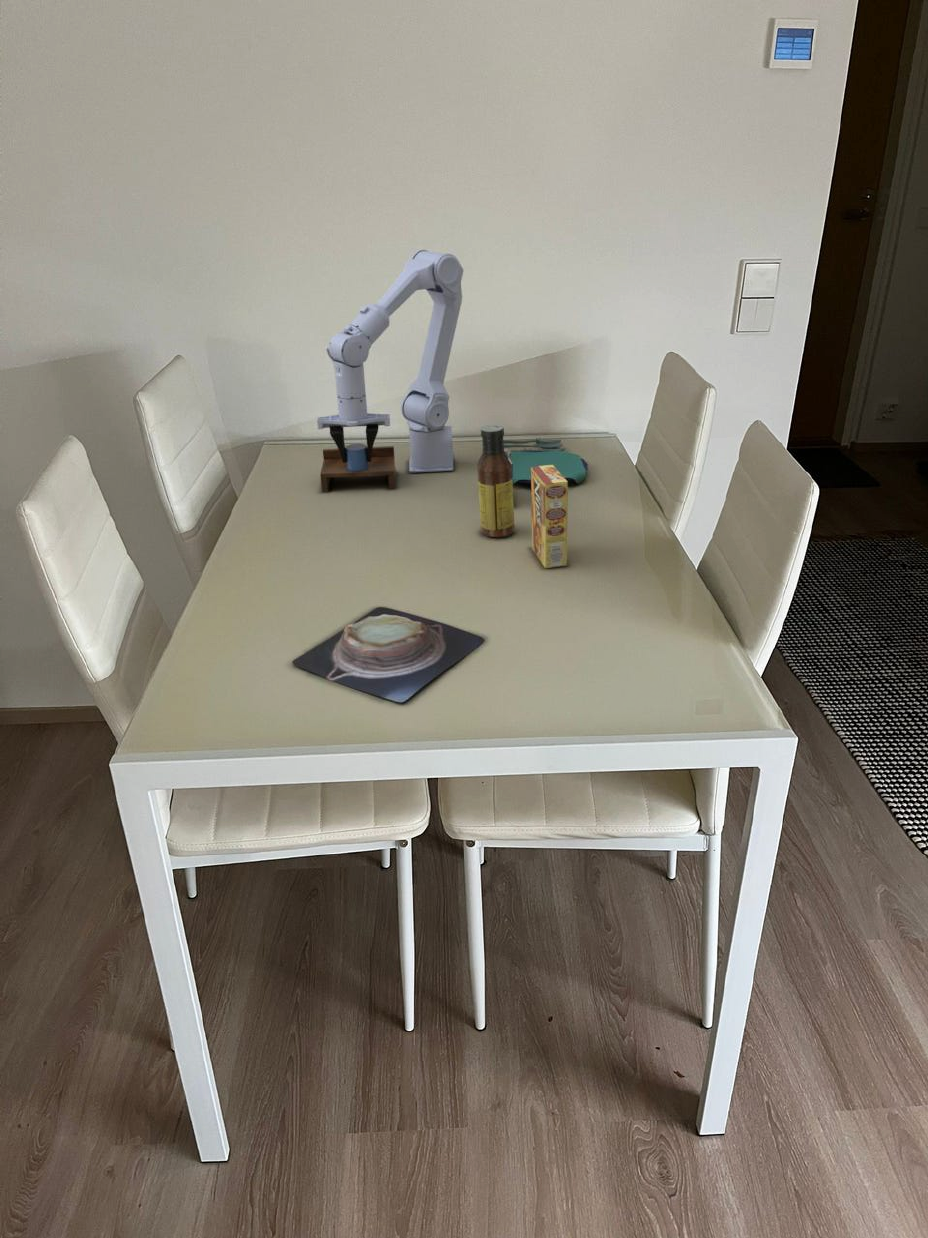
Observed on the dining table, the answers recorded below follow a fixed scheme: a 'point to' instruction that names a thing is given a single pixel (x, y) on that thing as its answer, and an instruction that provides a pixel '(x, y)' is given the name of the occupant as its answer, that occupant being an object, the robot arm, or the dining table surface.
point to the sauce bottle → (495, 485)
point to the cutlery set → (545, 460)
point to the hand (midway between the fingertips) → (357, 460)
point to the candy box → (549, 515)
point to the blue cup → (356, 457)
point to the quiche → (389, 653)
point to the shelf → (379, 465)
